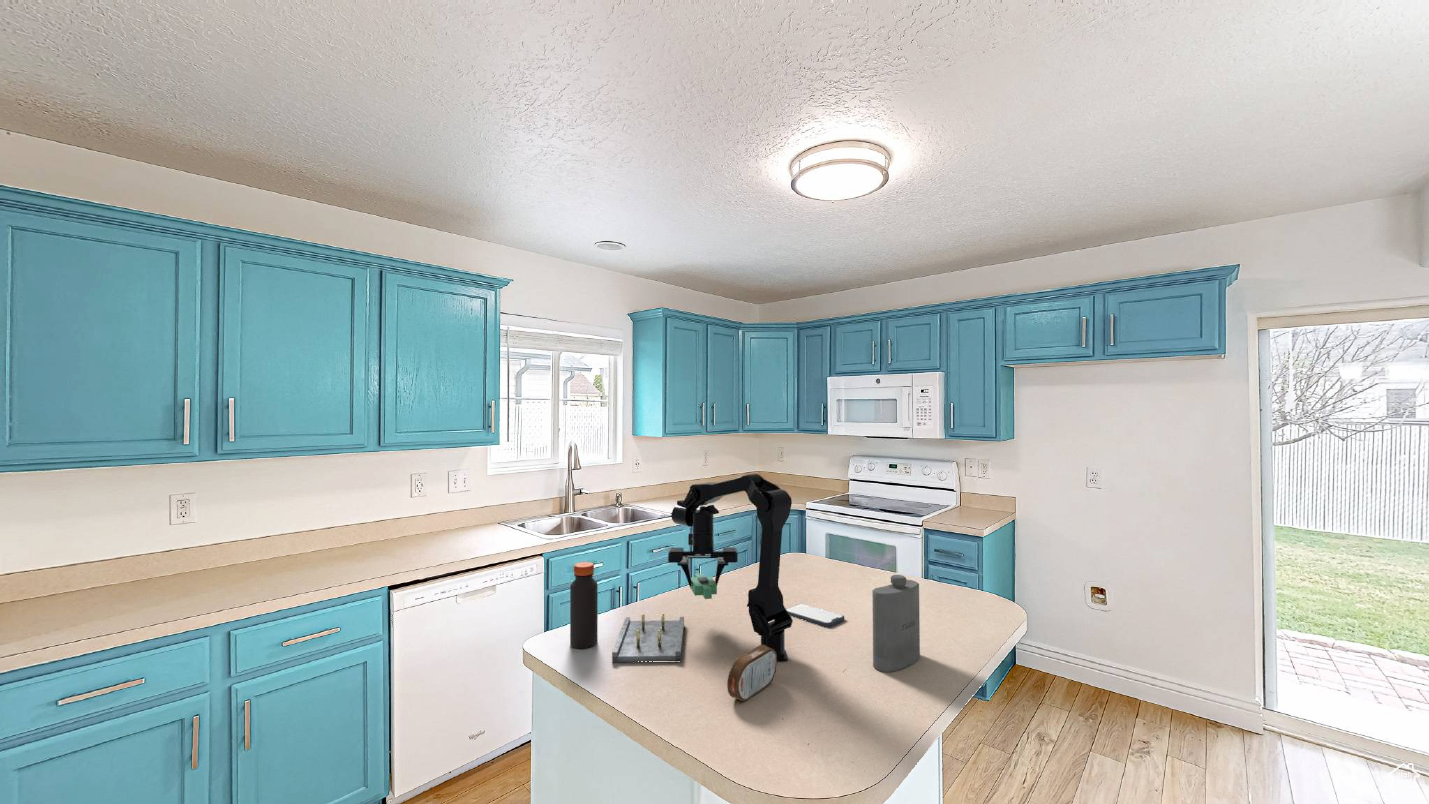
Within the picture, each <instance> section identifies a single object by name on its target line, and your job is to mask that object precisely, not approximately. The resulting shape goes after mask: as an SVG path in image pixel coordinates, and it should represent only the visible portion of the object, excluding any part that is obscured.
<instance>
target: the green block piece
mask: <svg viewBox="0 0 1429 804" xmlns="http://www.w3.org/2000/svg"><path fill="white" fill-rule="evenodd" d="M689 588H690V589H691V591H692V594H693V595H694V596H696V597H697V596H702V597H703V598H704V599H705V600H711V599H713V598H712V597H713V595H718V584H716V583H715V579H714V578H713V577H712V576H704V574H702V573H695V574H694V577H691V587H690V586H689Z"/></svg>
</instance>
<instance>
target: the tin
mask: <svg viewBox="0 0 1429 804" xmlns="http://www.w3.org/2000/svg"><path fill="white" fill-rule="evenodd" d="M777 662H778V661H777V654H776V652H775V650H773V649H772V648H769V647H767V646H766V645H761V644H760V645H758V646H756V647H754V648H752V649H751V650H748V651H747V652H745V653H744V654H742V655H740V656H738V657H737V658H736V659H735V661H734V662H733V663H732V666H731V668H730V670H729V672H728V676H727V681H726V682H727V685H726V686H727V688H726V689H727V692H728V695H729V696H730V697H731V698H734V699H737V700H738V701H741V702H746V701H748V700H749V699H751V698H752V697H754V696H755V695H757V694H759V693H760V692H761V691H762V690H764V689H766V688H767V687H769V685H770V684H771V683H772V681H773V680H774V677H775V675H776V671H777V664H778V663H777ZM759 691H760V692H759ZM756 693H757V694H756ZM753 695H754V696H753Z"/></svg>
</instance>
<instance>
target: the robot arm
mask: <svg viewBox="0 0 1429 804" xmlns="http://www.w3.org/2000/svg"><path fill="white" fill-rule="evenodd" d="M743 492H745V493H746V494H747V497H748V500H749V502H750V503H751V504H752V505H754V506H755V508H756V517H757V519H758V521H759V523H760V526H761V534H760V535H761V536H760V537H761V538H760V547H759V548H760V550H759V565H758V577H757V585H756V587H754V588H751V589H749V590H748V593H747V597H748V598H747V600H748V601H747V604H746V607H747V608H748V614H749V616H750V621H751V625H752V629H753V632H754V633H757V635H758V636H760V645H766V646H767V647H769V648H772V649H773V650H775V652H776V654H777V662H787V661H788V660H789V658H788V655H787V652H786V649H785V647H786V645H785V641H786V640H785V639H786V638H785V630H787V629H790V628H792V625H793V622H794V621H793V620H794V619H793V617H792V616H790V615H789V613H788V612H787V610H786V609H787V608H786V607H785V605H784V595H783V593H782V591H781V589H780V586H779V579H780V578H779V577H780V563H781V551H782V540H783V539H782V537H783V536H782V535H783V528H784V526H785V524H786V522H787V521H788V519H789V517H790V512H791V510H792V501H793V500H792V497H791V496H790V494H789V493H788V492H787V491H786V490H784V489H782V488H780V487H779V486H778V485H777V484H775V483H772V481H771V482H770V481H768V480H767V479H765V478H764V477H763V476H761V475H760V474H758V473H747V474H744V475H742V476H739V477H735V478H731V479H727V480H724V481H720V482H717V481H713V482H712V481H710V482H702V483H694V484H691V485H690V486H689V490H688V492H687V494H686V496H685V497H684V499H682V500H681V499H680V500H676V505H675V506H674V507H673V509H672V512H671V513H670V515H671V520H672V522H673V523H675V524H678V525H680V526H685V527H691V528H692V533H688V536H687V537H688V538H687V539H688V540H687V541H688V542H687V544H688V546H692V550H691V551H690V550H686V551H685V550H684V548H685V547H671V548H670V549H669V550H668V554H667V557H668V558H667V561H668V563H670V564H671V563H672V564H673V563H674V564H676V565H677V566H678V567H679V566H680V567H681V569H682V571H683V573H684V574H685V575H684V576H685V577H686V580H687V583H688V586H689V588H690V587H691V578H692V573H691V566H690V559H717V562H716V571H715V576H714V577H715V578H714V581H715V583H716V584H717V585H718V583H719V581H720V578H721V575H722V572H723V571H724V568H725V567H726V566H729V564H730V563H738V561H739V559H738V558H739V557H738V554H739V553H738V549H737V548H736V547H730V546H729V547H728V546H727V547H722V550H715V544H714V541H715V540H714V515H718V514H719V513H720V511H719V509H717V508H716V506H715V505H714V504H713V503H715V502H717V501H719V500H721V499H722V498H723V497H725V496H729V495H734V494H739V493H743ZM709 504H710V505H709Z"/></svg>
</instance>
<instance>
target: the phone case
mask: <svg viewBox="0 0 1429 804" xmlns="http://www.w3.org/2000/svg"><path fill="white" fill-rule="evenodd" d="M785 609H786V610H787V612H788V613H789V615H791V617H792V616H793V617H792V618H795V617H797V618H796V619H798V618H799V619H798V620H801V619H803V620H802V621H804V620H806V622H808V623H810V622H811V624H813V623H814V625H816V624H818V625H817V626H819V625H820V627H823V626H824V627H823V628H826V627H828V628H829V629H830V628H833V627H835V626H837V625H839V624H841V623H843V622H845V616H844V615H843V614H839V613H836V612H832V611H829V610H826V609H821V608H818V607H815V606H811V605H807V604H804V603H798V604H795V605H793V606H790V607H788V608H785ZM832 626H833V627H832Z"/></svg>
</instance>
